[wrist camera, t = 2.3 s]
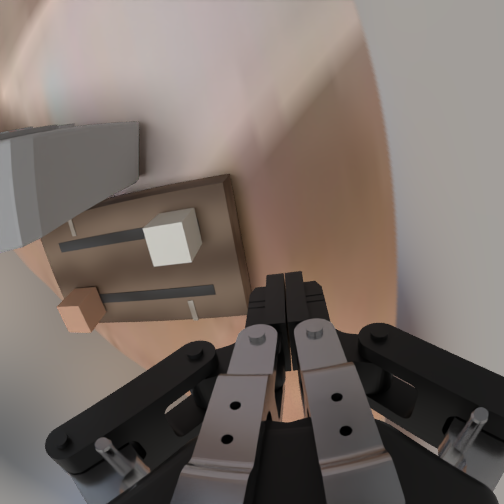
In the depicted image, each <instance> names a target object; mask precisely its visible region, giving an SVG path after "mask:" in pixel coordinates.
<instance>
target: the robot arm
mask: <svg viewBox="0 0 504 504" xmlns="http://www.w3.org/2000/svg"><path fill="white" fill-rule="evenodd" d="M285 285H286V288H285ZM290 347H291V352H290ZM291 356H292V365H293V370H298V377H299V388H300V394H301V400H302V406H303V412H304V418H303V419H300V420H297V421H293V422H289V423H285V422H282V415H283V405H284V394H285V383H284V382H285V378H286V376H285V371H291ZM393 375H395V376H397V377H399V378H400V379H402V380H404V381H406V382H408V383H410V384H411V385H413V386H414V387H415V388H414V387H412V386H410V385H409V384H407V383H405V382H403V381H401V380H399V379H398V378H396V377H394V376H393ZM189 390H190V392H191V395H190V396H189V397H187V398H186V399H185V400H183V401H182V402H181V403H179V404H178V405H177V406H176V407H174V408H173V409H171V410H170V411H169V412H167V413H166V414H165V410H166V409H167V407H168V406H169V405H170V404H172V403H173V402H174V401H176V400H177V399H178V398H180V397H181V396H182V395H184V394H185V393H187V392H188V391H189ZM371 408H372V409H373V410H375V411H376V412H378V413H379V414H381V415H383V416H384V417H386V418H387V419H389V420H391V421H392V422H394V423H396V424H397V425H399V426H400V427H402V428H404V429H405V430H407V431H409V432H410V433H412V434H414V435H415V436H417V437H419V438H420V439H422V440H424V441H425V442H427V443H429V444H430V445H432V446H434V447H436V448H437V449H438V456H437V455H436V454H434V453H432V452H430V451H429V450H427V449H426V448H425V447H423V446H421V445H420V444H418V443H417V442H415V441H414V440H412V439H411V438H409V437H407V436H406V435H404V434H403V433H402V432H400V431H399V430H397V429H396V428H394V427H393V426H391V425H389V424H387V423H385V422H383V421H380V420H377V419H374V417H373V414H372V411H371ZM45 449H46V452H47V453H48V455H49V456H50V457H51V458H52V459H53V460H54V461H55V462H56V463H57V464H59V465H60V466H61V468H62V469H63V470H64V471H65V472H66V473H67V474H68V475H70V476H71V477H72V479H73V481H74V482H75V484H76V486H77V488H78V489H79V491H80V493H81V494H82V496H83V497H84V499H85V501H86V502H87V504H499V503H498V500H497V498H496V496H495V494H494V493H493V490H494V489H495V487H496V485H497V483H498V482H499V480H500V478H501V476H502V474H503V473H504V377H503V376H501V375H499V374H496V373H494V372H492V371H489V370H487V369H485V368H483V367H481V366H479V365H476V364H474V363H472V362H470V361H467V360H465V359H463V358H461V357H459V356H457V355H454V354H452V353H450V352H448V351H446V350H443V349H441V348H439V347H437V346H435V345H432V344H430V343H428V342H426V341H424V340H422V339H420V338H417V337H415V336H413V335H411V334H409V333H407V332H404V331H402V330H400V329H398V328H396V327H394V326H391V325H389V324H385V323H373V324H369V325H367V326H365V327H363V328H362V329H361V330H360V332H359V334H348V333H343V332H341V331H338V330H337V329H335V327H334V325H333V324H332V323H331V322H330V318H329V314H328V310H327V306H326V302H325V298H324V295H323V290H322V286H320V285H319V284H318V283H317V282H316V281H310V282H303V277H302V271H298V272H289V273H285V280H284V274H283V273H281V274H272V275H267V277H266V287H257V288H255V289H254V290H253V291H252V293H251V294H250V297H249V304H248V311H247V319H246V326H245V329H243V330H242V331H241V332H240V333H239V334H238V337H237V340H236V342H235V343H234V344H232V345H229V346H226V347H223V348H219V349H216V350H215V347H214V345H213V344H211V343H210V342H207V341H194V342H190V343H188V344H186V345H184V346H183V347H181V348H180V349H178V350H177V351H175V352H174V353H172V354H171V355H169V356H168V357H166V358H165V359H163V360H162V361H160V362H159V363H157V364H156V365H154V366H153V367H151V368H150V369H148V370H147V371H146V372H144V373H142V374H141V375H139V376H138V377H136V378H135V379H133V380H132V381H130V382H129V383H127V384H126V385H124V386H123V387H121V388H120V389H118V390H117V391H115V392H113V393H112V394H110V395H109V396H107V397H106V398H104V399H103V400H101V401H99V402H98V403H96V404H95V405H93V406H91V407H90V408H88V409H87V410H85V411H83V412H82V413H80V414H79V415H77V416H75V417H74V418H72V419H70V420H69V421H67V422H66V423H64V424H62V425H61V426H59V427H57V428H56V429H54V430H53V431H52V432H51V433H50V434H49V435H48V437H47V439H46V443H45Z"/></svg>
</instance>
